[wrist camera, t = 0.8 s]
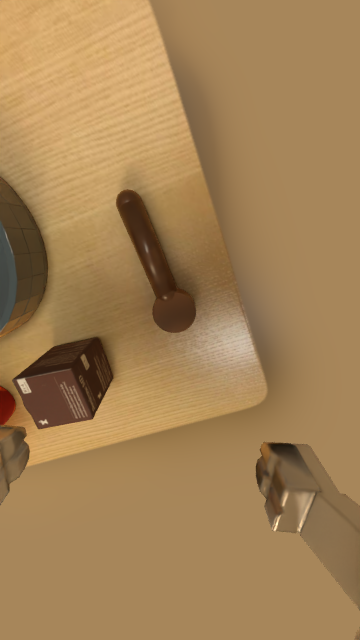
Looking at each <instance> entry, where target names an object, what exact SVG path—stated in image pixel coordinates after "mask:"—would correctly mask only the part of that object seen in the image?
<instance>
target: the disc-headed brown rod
mask: <svg viewBox="0 0 360 640" xmlns="http://www.w3.org/2000/svg"><path fill="white" fill-rule="evenodd" d="M116 206H117V209H118V211H119V213H120V216H121V218H122V220H123V223H124V225H125V227H126V229H127V232H128V234H129V236H130V238H131V241H132V243H133V245H134V248H135V250H136V252H137V254H138V257H139V259H140V261H141V263H142V266H143V268H144V270H145V273H146V275H147V277H148V279H149V282H150V284H151V286H152V288H153V291H154V293H155V295H156V297H157V299H156V301H155V303H154V306H153V318H154V321H155V322H156V324H157V325H158V326H159V327H160V328H161V329H163V330H164V331H167V332H171V333H178V332H182V331H184V330H186V329H188V328H189V327H190V326H191V325H192V323H193V322H194V319H195V316H196V309H195V304H194V301H193V299H192V297H191V296H190V294H189V293H187V292H186V291H184V290H182V289H179V288H177V287H176V284H175V282H174V279H173V277H172V275H171V272H170V270H169V267H168V265H167V262H166V260H165V257H164V255H163V252H162V250H161V247H160V245H159V242H158V240H157V237H156V235H155V232H154V230H153V228H152V225H151V223H150V220H149V218H148V215H147V213H146V210H145V208H144V205H143V203H142V200H141V198H140V196H139V195H138V194H137V193H136V192H135V191H133V190H128V189H127V190H123V191H121V192H120V193H119V194H118V196H117V199H116Z"/></svg>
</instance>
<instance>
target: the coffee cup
mask: <svg viewBox="0 0 360 640" xmlns="http://www.w3.org/2000/svg"><path fill="white" fill-rule="evenodd" d="M15 407H16V404H15V400H14V398H13V396H12V395H11V394H10V393H9V392H8V391H7V390H6V389H5V388H3V387H1V386H0V425H4V424H5V423H6V422H7V421H8V419H9V418H10V417H11V416H12V414H13V413H14V411H15Z"/></svg>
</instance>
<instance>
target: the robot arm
mask: <svg viewBox="0 0 360 640" xmlns="http://www.w3.org/2000/svg"><path fill="white" fill-rule="evenodd" d="M26 436H27V434H26V430H25V428H24V427H19V426H8V425H0V505H1V503H2V502H3V500H4V499H5V497H6V496H7V494H8V493H9V484H10V483H11V482H13V481H14V480H16V479H17V478H19V477H20V475H21V473H22V472H23V470H24V469H25V467H26V464H27V462H28V459H29V452H30V450H29V445H28V444H27V443H26V442H25V441H24V438H25V437H26ZM260 451H261V454H262V456H261V457H260V458H259V459H258V460H257V464H256V478H257V484H258V487H259V490H260V492H261V493H262V494H263V495H264V497H265V498H266V499H267V500H266V503H265V510H266V513H267V516H268V519H269V522H270V525H271V528H272V531H281V532H291V533H301V534H300V536H301V537H302V538H303V539H304V541H305V542H306V543H307V544H308V546H309V547H310V548H311V550H312V551H313V552H314V553H315V554H316V556H317V557H318V558H319V560H320V561H321V562H322V563H323V565H324V566H325V567H326V568H327V570H328V571H329V572H330V573H331V575H332V576H333V577H334V578H335V580H336V581H337V582H338V583H339V585H340V586H341V587H342V588H343V590H344V591H345V592H346V594H347V595H348V596H349V597H350V599H351V600H352V601H353V602H354V603H355V605H356V606H357V607H358V609H359V610H360V506H359V505H358V504H357V503H355V502H354V501H353V500H352V499H351V498H349V497H348V496H347V495H346V494H340V493H339V491H338V490H337V488H336V486H335V485H334V483H333V481H332V480H331V478H330V477H329V475H328V474H327V472H326V470H325V469H324V467H323V466H322V464H321V462H320V461H319V459H318V458H317V456H316V455H315V453H314V451H313V450H312V448H311V447H310V446H309V445H307V444H291V443H273V442H263V444H262V445H261V448H260ZM355 640H360V627H359V629H358V630H357V632H356V635H355Z"/></svg>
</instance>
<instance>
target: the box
mask: <svg viewBox="0 0 360 640" xmlns="http://www.w3.org/2000/svg"><path fill="white" fill-rule="evenodd" d="M112 379H113V375H112V372H111V369H110V366H109V364H108V361H107V358H106V355H105V353H104V350H103V348H102V345H101V342H100V340H99V338H97V337H96V338H91V339H87V340H83V341H79V342H74V343H69V344H64V345H59V346H55V347H53V348H51V349H50V350H49V351H47V352H46V353H45V354H44V355H43V356H41V357H40V358H39V359H38V360H36V361H35V362H34V363H33V364H31V365H30V366H29V367H28V368H26V369H25V370H24V371H23V372H21V373H20V374H19V375H18V376H16V377H15V378H14V379H13V380H12V381H13V383H14V385H15V387H16V389H17V390H18V392H19V394H20V395H21V398H22V400H23V404H24V406H25V408H26V409H27V411H28V412H29V413H30V414H31V416H32V418H33V420H34V422H35V424H36V425H37V427H38V429H43V428H48V427H53V426H59V425H64V424H69V423H75V422H81V421H86V420H91V419H93V418H94V415H95V413H96V411H97V410H98V407H99V405H100V403H101V401H102V399H103V397H104V395H105V393H106V391H107V389H108V387H109V385H110V383H111V381H112Z"/></svg>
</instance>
